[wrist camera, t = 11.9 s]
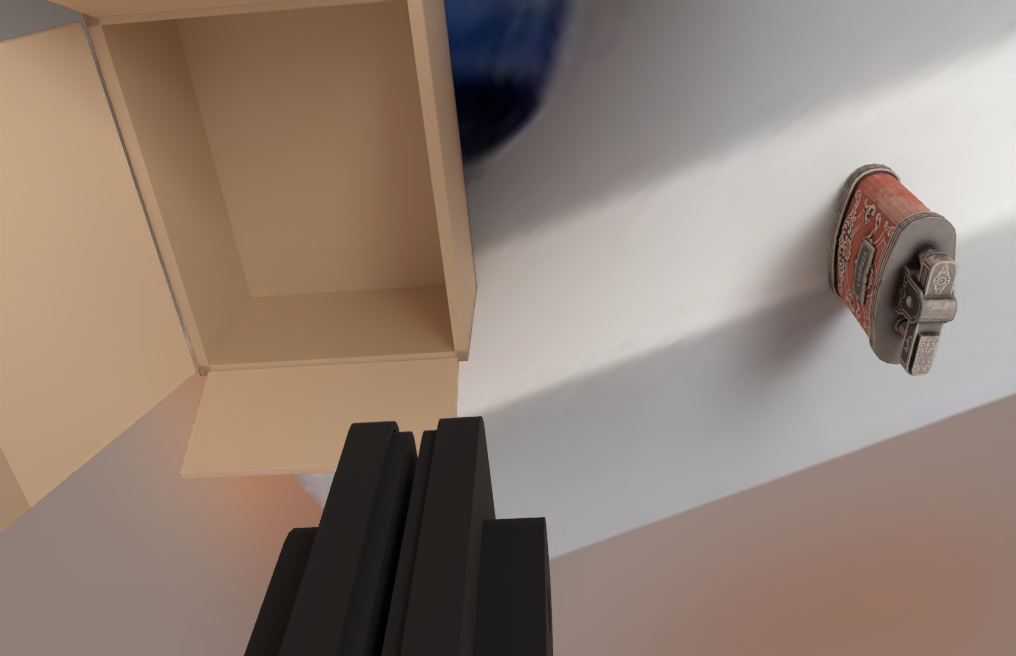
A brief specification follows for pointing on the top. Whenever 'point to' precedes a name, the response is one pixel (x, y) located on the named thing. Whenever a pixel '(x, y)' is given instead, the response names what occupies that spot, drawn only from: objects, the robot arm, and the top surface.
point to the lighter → (893, 267)
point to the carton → (299, 213)
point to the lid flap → (72, 274)
